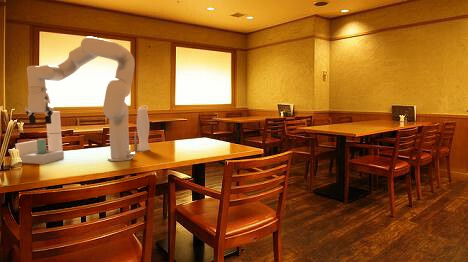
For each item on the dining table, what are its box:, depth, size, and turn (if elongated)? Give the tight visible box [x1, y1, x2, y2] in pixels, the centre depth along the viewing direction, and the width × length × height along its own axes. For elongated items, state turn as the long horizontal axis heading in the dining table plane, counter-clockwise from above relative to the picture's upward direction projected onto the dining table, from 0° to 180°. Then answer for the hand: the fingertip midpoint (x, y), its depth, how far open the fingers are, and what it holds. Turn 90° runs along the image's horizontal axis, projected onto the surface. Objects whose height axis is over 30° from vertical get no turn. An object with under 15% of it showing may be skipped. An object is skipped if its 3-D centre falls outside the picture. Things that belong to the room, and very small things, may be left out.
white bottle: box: [133, 104, 151, 153], centre depth 196 cm, size 8×8×28 cm
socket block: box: [20, 150, 65, 165], centre depth 167 cm, size 14×14×4 cm
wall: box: [14, 139, 38, 156], centre depth 169 cm, size 2×14×10 cm, turn 168°
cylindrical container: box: [46, 110, 64, 151], centre depth 185 cm, size 7×7×25 cm
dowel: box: [36, 138, 48, 154], centre depth 167 cm, size 4×4×10 cm
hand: (40, 123), depth 165 cm, fingers open, 9 cm apart
